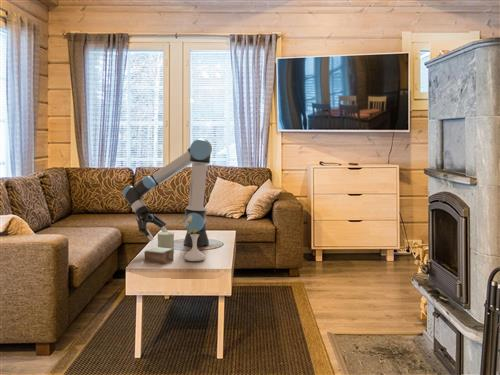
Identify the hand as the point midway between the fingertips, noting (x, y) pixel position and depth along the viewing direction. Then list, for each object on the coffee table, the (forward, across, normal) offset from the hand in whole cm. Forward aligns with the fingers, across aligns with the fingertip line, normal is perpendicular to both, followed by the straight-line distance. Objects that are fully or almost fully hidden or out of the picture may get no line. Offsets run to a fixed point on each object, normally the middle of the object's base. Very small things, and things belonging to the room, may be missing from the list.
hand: (160, 237), depth 283 cm
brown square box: (+15, +15, +3) cm, 22 cm away
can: (+9, -1, -4) cm, 9 cm away
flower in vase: (+25, +4, +13) cm, 29 cm away
